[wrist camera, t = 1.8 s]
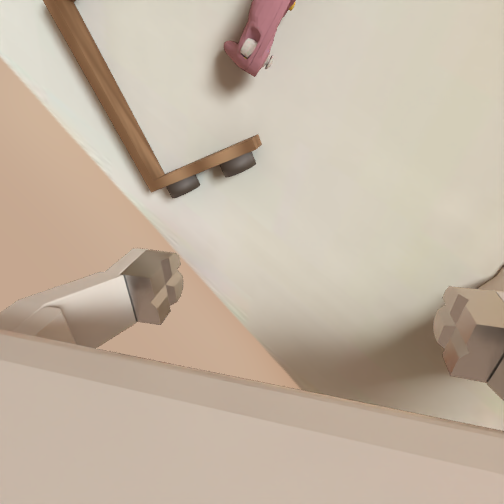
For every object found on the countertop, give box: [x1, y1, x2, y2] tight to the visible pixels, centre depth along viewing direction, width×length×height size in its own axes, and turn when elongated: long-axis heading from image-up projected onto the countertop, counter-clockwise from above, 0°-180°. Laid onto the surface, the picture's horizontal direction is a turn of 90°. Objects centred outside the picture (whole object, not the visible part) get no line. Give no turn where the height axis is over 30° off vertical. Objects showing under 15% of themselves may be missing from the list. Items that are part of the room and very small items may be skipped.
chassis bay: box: [43, 0, 262, 198], centre depth 32 cm, size 15×26×4 cm, turn 23°
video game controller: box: [224, 0, 296, 77], centre depth 26 cm, size 10×5×7 cm, turn 148°
